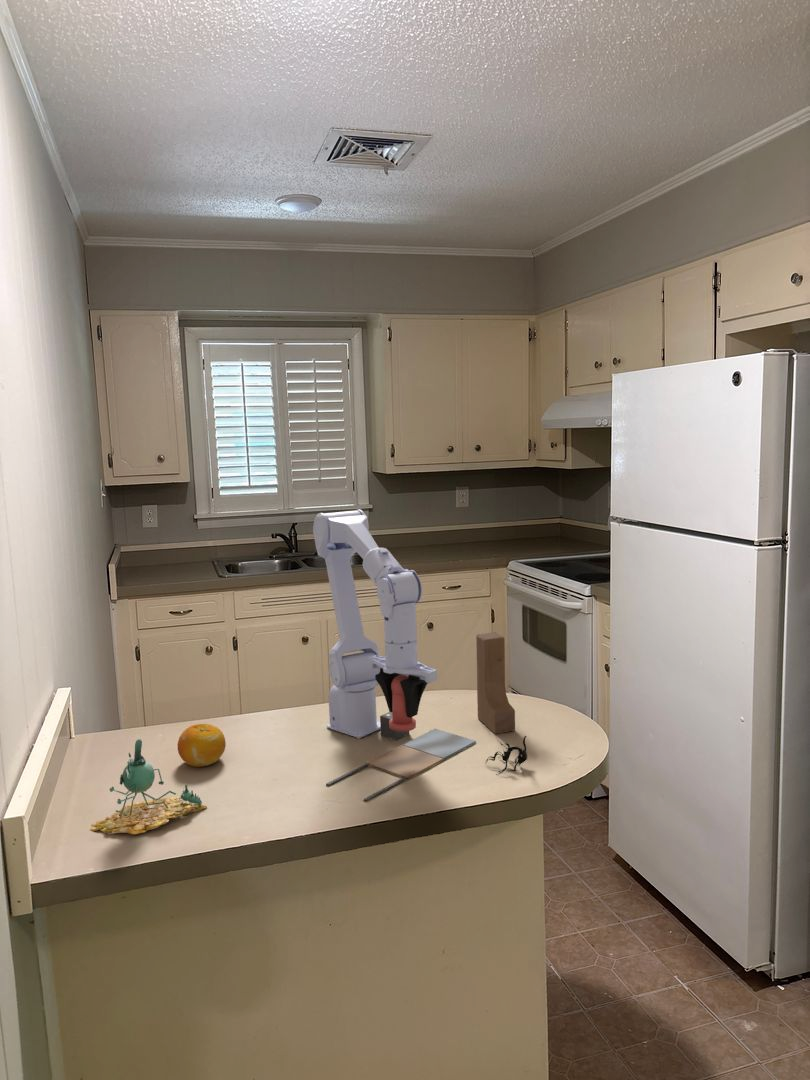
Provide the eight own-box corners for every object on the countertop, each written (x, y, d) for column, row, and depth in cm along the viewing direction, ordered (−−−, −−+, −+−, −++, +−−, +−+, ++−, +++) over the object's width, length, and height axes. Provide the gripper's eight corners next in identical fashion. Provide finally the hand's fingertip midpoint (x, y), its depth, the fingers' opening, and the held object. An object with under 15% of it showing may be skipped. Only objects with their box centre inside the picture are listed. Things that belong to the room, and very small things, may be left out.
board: (325, 784, 136) (325, 782, 136) (435, 730, 158) (435, 728, 158) (367, 802, 129) (367, 799, 129) (475, 742, 151) (475, 740, 151)
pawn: (383, 727, 142) (383, 675, 141) (401, 719, 146) (400, 669, 144) (403, 733, 139) (403, 681, 138) (421, 725, 143) (421, 674, 141)
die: (380, 735, 156) (380, 715, 156) (394, 729, 159) (393, 709, 159) (395, 740, 154) (395, 720, 153) (409, 733, 157) (408, 714, 156)
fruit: (210, 758, 140) (204, 714, 143) (170, 772, 142) (165, 728, 145) (236, 761, 147) (231, 719, 150) (198, 774, 149) (193, 732, 152)
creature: (486, 781, 138) (531, 774, 136) (478, 753, 137) (523, 745, 136) (489, 762, 145) (531, 755, 144) (482, 735, 145) (525, 727, 143)
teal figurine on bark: (206, 830, 122) (188, 741, 120) (86, 856, 120) (64, 766, 117) (210, 800, 132) (193, 717, 129) (98, 824, 129) (78, 740, 126)
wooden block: (515, 731, 156) (515, 643, 153) (494, 734, 155) (493, 645, 152) (497, 715, 165) (495, 631, 162) (477, 718, 163) (475, 634, 161)
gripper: (355, 638, 142) (358, 710, 144) (417, 652, 132) (419, 729, 134) (382, 629, 147) (384, 699, 149) (443, 642, 138) (445, 716, 140)
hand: (403, 713), depth 142 cm, fingers closed on pawn, 4 cm apart
